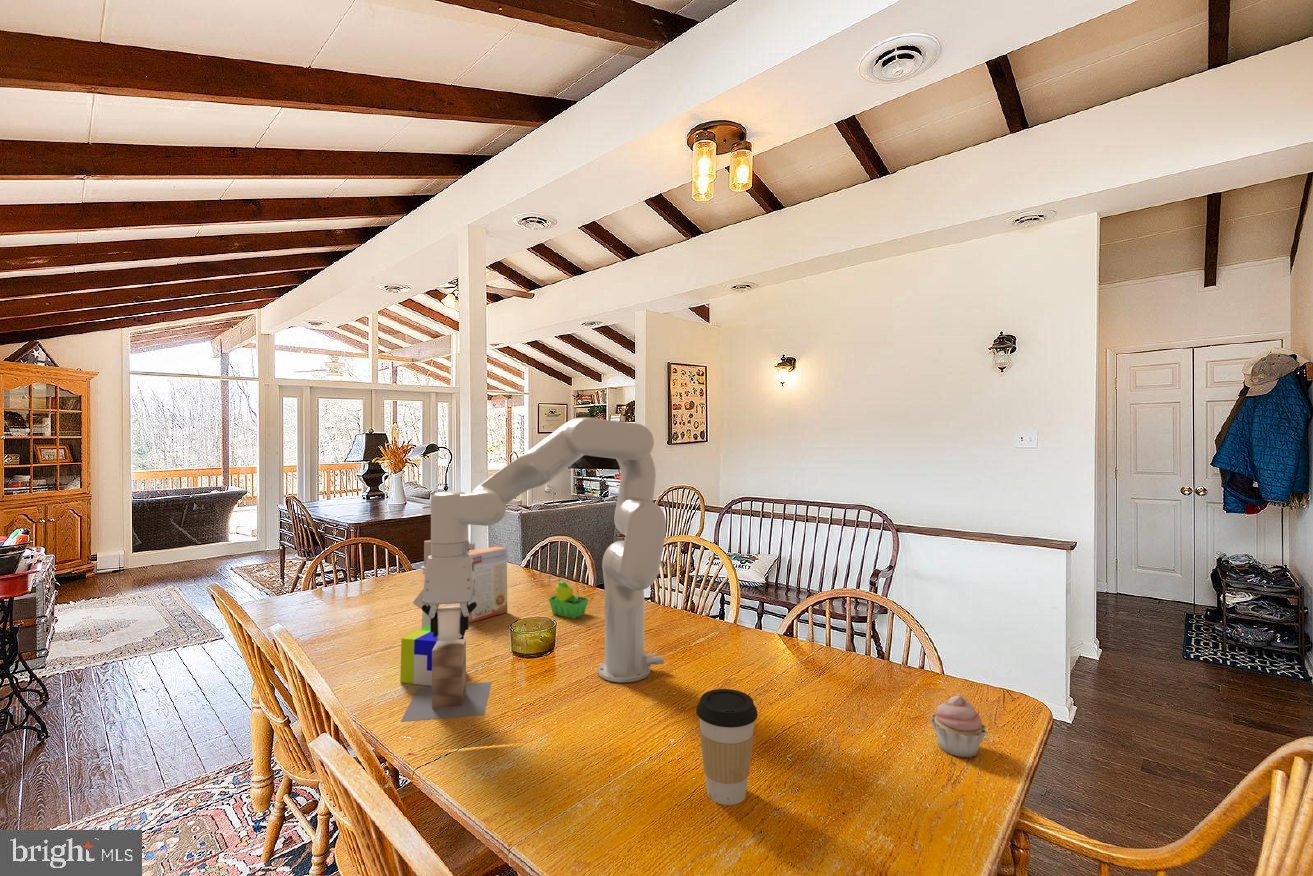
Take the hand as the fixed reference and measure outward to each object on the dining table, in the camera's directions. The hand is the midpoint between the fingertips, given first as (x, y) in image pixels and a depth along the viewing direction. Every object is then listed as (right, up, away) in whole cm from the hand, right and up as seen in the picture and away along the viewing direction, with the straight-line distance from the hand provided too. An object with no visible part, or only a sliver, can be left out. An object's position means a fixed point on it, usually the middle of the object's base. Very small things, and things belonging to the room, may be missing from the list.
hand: (449, 633), depth 126 cm
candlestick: (-15, -15, +28) cm, 35 cm away
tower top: (0, -8, 0) cm, 8 cm away
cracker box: (-10, -14, +59) cm, 62 cm away
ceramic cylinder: (0, -1, 0) cm, 1 cm away
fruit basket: (+16, -15, +61) cm, 65 cm away
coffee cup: (+56, -15, -31) cm, 66 cm away
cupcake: (+100, -16, -18) cm, 103 cm away
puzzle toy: (-9, -15, +13) cm, 21 cm away
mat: (0, -15, 0) cm, 15 cm away
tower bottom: (0, -14, 0) cm, 14 cm away
